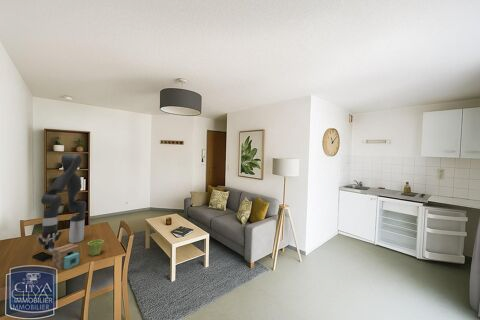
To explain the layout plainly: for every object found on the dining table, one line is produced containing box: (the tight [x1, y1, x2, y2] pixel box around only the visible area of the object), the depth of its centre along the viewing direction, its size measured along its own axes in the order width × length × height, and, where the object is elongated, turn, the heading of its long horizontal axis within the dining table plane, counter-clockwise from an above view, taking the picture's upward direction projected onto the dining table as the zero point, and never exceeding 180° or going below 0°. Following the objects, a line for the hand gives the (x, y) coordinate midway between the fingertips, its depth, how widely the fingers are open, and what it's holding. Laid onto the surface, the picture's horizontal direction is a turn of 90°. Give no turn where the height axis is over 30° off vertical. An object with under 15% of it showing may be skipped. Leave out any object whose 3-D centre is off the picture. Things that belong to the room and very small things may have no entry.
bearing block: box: [51, 242, 80, 270], centre depth 128 cm, size 8×10×11 cm
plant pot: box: [87, 239, 104, 257], centre depth 143 cm, size 9×9×9 cm
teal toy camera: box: [63, 252, 80, 270], centre depth 126 cm, size 3×7×7 cm, turn 161°
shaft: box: [45, 239, 69, 255], centre depth 131 cm, size 21×3×6 cm, turn 71°
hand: (48, 248), depth 134 cm, fingers closed on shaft, 2 cm apart
